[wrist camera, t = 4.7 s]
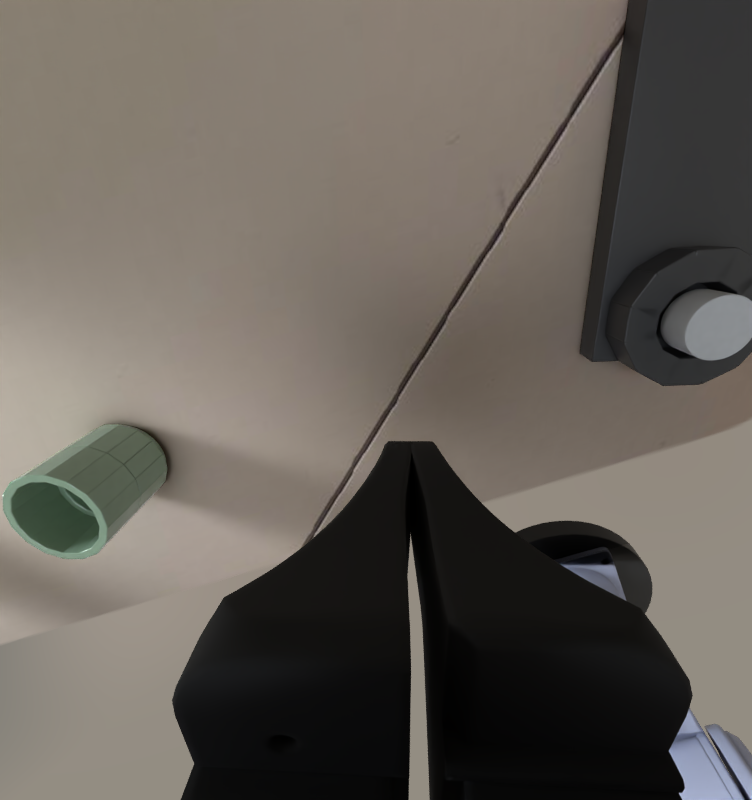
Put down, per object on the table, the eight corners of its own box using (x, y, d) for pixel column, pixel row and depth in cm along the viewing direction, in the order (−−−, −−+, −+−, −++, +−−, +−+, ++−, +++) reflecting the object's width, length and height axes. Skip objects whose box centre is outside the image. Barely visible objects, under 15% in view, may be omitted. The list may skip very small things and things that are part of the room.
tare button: (716, 348, 16) (748, 359, 14) (653, 350, 16) (678, 362, 15) (734, 286, 15) (768, 292, 14) (667, 290, 15) (694, 296, 14)
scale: (708, 361, 19) (761, 383, 16) (577, 366, 19) (606, 388, 16) (813, -24, 13) (920, -90, 11) (628, -2, 14) (684, -59, 11)
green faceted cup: (187, 475, 23) (128, 542, 18) (126, 500, 24) (54, 570, 19) (137, 407, 22) (56, 460, 17) (74, 438, 23) (-20, 496, 18)
